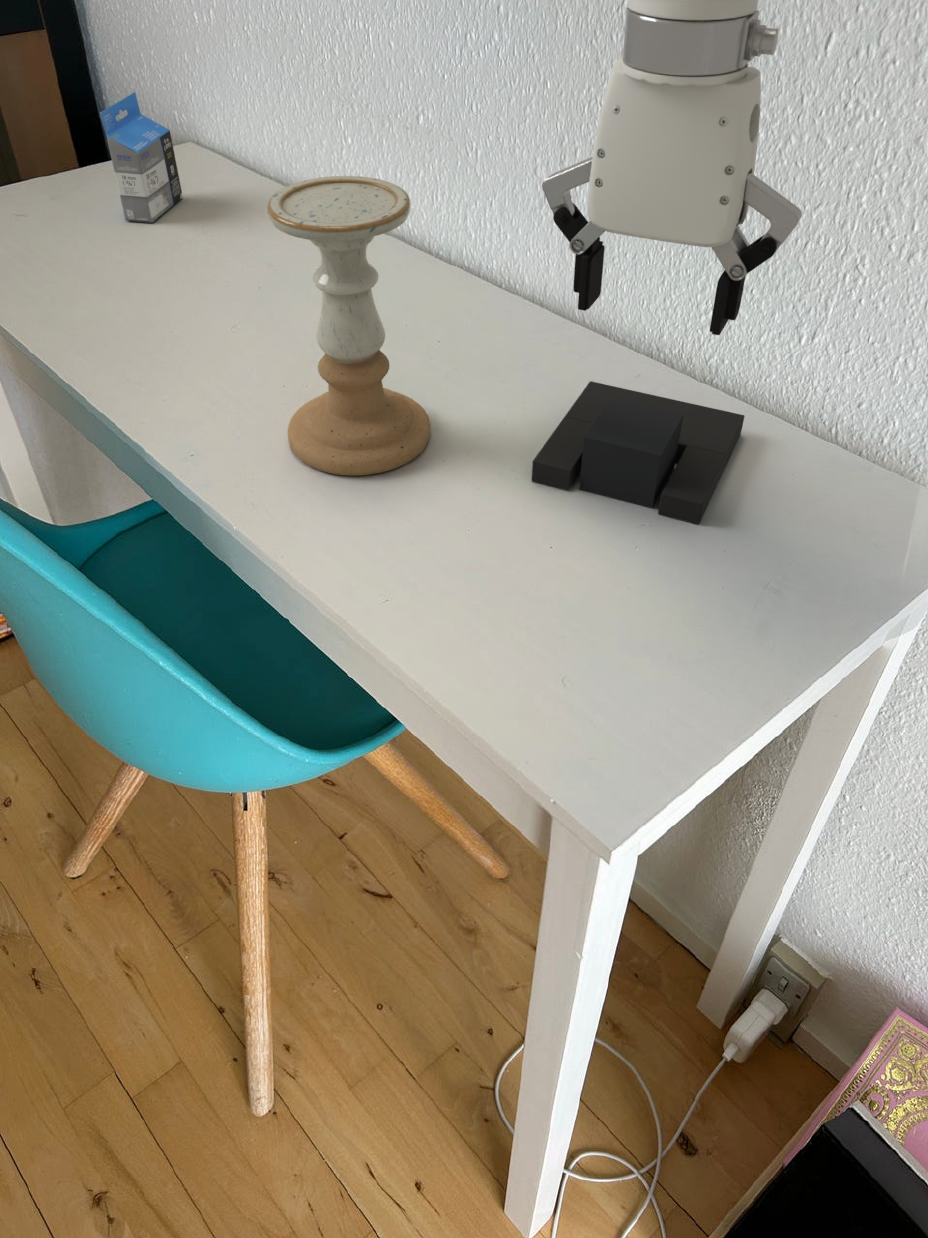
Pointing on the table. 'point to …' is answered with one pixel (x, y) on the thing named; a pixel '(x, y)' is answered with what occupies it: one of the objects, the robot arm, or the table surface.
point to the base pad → (697, 458)
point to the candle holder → (350, 329)
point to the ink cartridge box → (141, 162)
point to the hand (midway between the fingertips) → (652, 314)
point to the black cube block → (630, 452)
